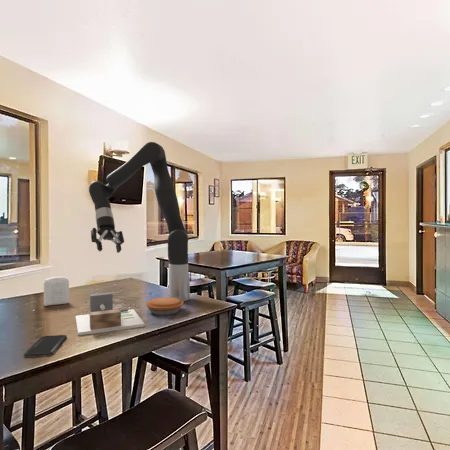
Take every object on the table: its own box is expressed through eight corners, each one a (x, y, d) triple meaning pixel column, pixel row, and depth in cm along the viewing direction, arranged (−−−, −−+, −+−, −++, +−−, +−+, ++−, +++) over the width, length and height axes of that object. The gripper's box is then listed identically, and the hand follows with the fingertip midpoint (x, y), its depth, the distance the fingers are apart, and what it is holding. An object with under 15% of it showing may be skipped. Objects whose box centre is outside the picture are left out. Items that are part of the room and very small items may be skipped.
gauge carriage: (127, 310, 138) (127, 291, 138) (130, 315, 132) (130, 294, 132) (90, 314, 132) (89, 294, 132) (91, 320, 126) (91, 298, 126)
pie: (167, 319, 132) (167, 306, 132) (137, 313, 140) (137, 301, 140) (190, 309, 146) (190, 298, 146) (162, 304, 153) (162, 293, 153)
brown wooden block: (119, 322, 124) (119, 309, 124) (120, 325, 121) (120, 311, 120) (89, 326, 120) (89, 312, 120) (90, 330, 116) (90, 315, 116)
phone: (67, 334, 112) (52, 352, 98) (67, 338, 112) (52, 356, 98) (41, 336, 111) (22, 354, 96) (41, 339, 111) (22, 358, 96)
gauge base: (133, 311, 142) (133, 308, 142) (144, 326, 123) (144, 322, 123) (75, 318, 133) (75, 314, 133) (78, 335, 114) (77, 331, 114)
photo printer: (68, 301, 159) (67, 274, 158) (69, 303, 155) (69, 276, 155) (43, 304, 153) (42, 277, 153) (44, 306, 149) (43, 278, 149)
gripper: (93, 213, 149) (98, 246, 142) (123, 217, 159) (129, 248, 152) (86, 221, 153) (90, 254, 146) (115, 225, 163) (120, 256, 156)
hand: (110, 251), depth 149 cm, fingers open, 8 cm apart
